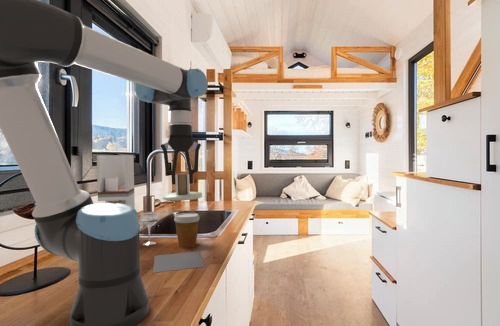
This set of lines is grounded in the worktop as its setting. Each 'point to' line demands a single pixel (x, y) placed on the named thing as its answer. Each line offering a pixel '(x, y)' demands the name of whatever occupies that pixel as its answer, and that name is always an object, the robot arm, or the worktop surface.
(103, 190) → the grey box-shaped tower
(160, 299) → the worktop surface
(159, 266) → the mat
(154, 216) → the wineglass
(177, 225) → the disposable coffee cup
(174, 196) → the lid
